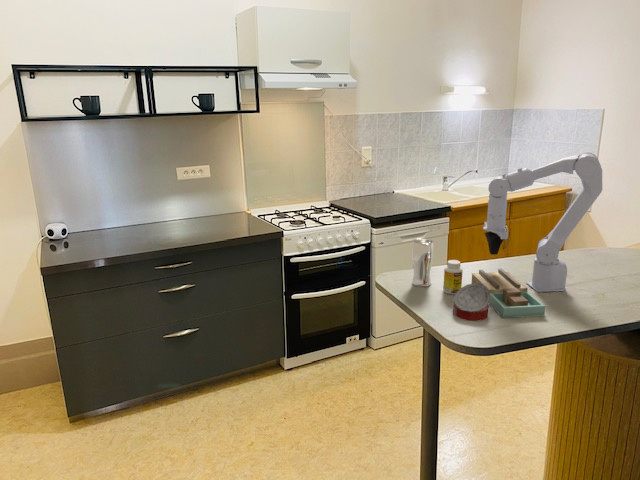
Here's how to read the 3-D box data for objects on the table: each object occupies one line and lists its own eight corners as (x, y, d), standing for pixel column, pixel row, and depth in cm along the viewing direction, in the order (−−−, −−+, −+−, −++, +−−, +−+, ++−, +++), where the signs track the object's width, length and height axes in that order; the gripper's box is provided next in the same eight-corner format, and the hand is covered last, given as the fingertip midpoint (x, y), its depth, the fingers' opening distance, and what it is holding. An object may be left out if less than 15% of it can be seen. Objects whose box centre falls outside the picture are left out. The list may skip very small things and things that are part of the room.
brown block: (519, 304, 145) (515, 300, 147) (521, 291, 143) (516, 288, 146) (506, 305, 144) (502, 301, 147) (507, 292, 143) (503, 288, 146)
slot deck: (506, 283, 163) (508, 268, 161) (526, 300, 149) (528, 284, 148) (471, 284, 162) (472, 270, 161) (487, 301, 149) (489, 286, 147)
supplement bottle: (453, 296, 153) (454, 266, 150) (439, 291, 158) (441, 261, 155) (464, 292, 156) (466, 262, 153) (451, 287, 161) (453, 257, 158)
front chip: (528, 300, 140) (527, 310, 141) (521, 295, 143) (520, 304, 144) (514, 301, 139) (513, 311, 140) (508, 296, 143) (507, 305, 144)
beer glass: (423, 289, 159) (425, 245, 155) (406, 283, 164) (407, 241, 160) (436, 283, 164) (438, 240, 159) (419, 278, 169) (421, 236, 164)
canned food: (487, 330, 141) (502, 308, 135) (456, 331, 139) (469, 309, 132) (473, 299, 149) (486, 278, 143) (443, 300, 147) (454, 278, 140)
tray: (526, 300, 149) (527, 291, 148) (544, 315, 139) (545, 305, 138) (488, 302, 148) (488, 293, 148) (503, 317, 138) (503, 308, 137)
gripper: (476, 209, 165) (473, 247, 169) (493, 220, 152) (490, 261, 155) (496, 208, 166) (493, 246, 170) (515, 219, 152) (512, 260, 156)
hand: (493, 253), depth 163 cm, fingers closed
